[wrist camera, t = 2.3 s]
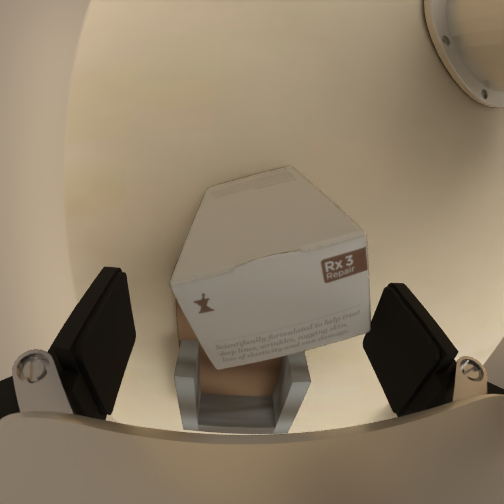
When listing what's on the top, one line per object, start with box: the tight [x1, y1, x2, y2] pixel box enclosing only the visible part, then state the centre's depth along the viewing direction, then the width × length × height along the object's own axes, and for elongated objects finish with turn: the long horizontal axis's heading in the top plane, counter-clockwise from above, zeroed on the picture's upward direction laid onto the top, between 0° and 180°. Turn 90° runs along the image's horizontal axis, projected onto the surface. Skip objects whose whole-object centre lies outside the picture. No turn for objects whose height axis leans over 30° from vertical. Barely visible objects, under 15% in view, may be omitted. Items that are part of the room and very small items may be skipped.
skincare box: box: [170, 166, 371, 370], centre depth 14 cm, size 6×4×12 cm
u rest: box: [174, 261, 311, 434], centre depth 23 cm, size 18×11×6 cm, turn 174°
